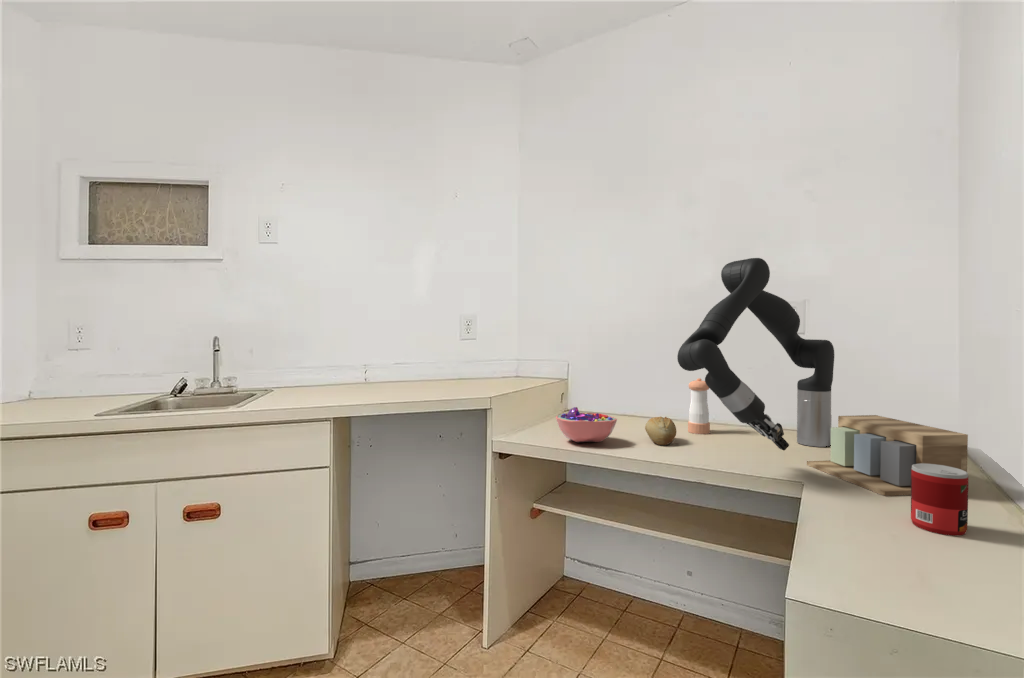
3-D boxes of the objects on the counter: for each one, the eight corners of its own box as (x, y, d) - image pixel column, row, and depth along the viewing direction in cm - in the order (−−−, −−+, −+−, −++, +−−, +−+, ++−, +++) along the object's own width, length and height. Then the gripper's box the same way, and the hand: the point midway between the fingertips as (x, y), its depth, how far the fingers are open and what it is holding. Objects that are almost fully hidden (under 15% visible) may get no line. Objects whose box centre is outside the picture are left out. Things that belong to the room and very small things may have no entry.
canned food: (972, 540, 86) (973, 477, 86) (913, 530, 90) (914, 470, 90) (961, 525, 93) (962, 467, 92) (907, 516, 97) (908, 461, 97)
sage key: (830, 461, 132) (830, 427, 132) (865, 459, 133) (865, 426, 133) (844, 466, 127) (845, 431, 127) (880, 465, 128) (881, 430, 128)
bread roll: (670, 436, 169) (670, 413, 169) (681, 447, 154) (681, 421, 154) (641, 436, 170) (641, 413, 170) (649, 446, 155) (650, 421, 155)
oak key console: (806, 464, 133) (807, 416, 133) (875, 462, 135) (875, 415, 135) (884, 495, 109) (885, 436, 108) (966, 492, 111) (967, 434, 110)
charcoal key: (880, 479, 116) (880, 441, 116) (919, 477, 117) (919, 440, 117) (899, 486, 111) (899, 446, 111) (939, 484, 112) (940, 445, 112)
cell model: (612, 450, 150) (612, 413, 150) (549, 445, 157) (549, 410, 157) (620, 438, 166) (620, 405, 165) (562, 434, 173) (562, 402, 172)
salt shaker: (713, 434, 172) (713, 379, 172) (692, 434, 172) (692, 379, 172) (705, 429, 179) (705, 377, 179) (685, 429, 179) (685, 377, 179)
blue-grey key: (853, 469, 124) (854, 433, 124) (890, 468, 125) (890, 433, 125) (870, 475, 119) (870, 438, 119) (908, 474, 120) (908, 437, 120)
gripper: (766, 393, 120) (812, 442, 121) (736, 387, 133) (778, 431, 135) (745, 415, 120) (792, 464, 121) (717, 407, 133) (760, 451, 134)
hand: (785, 447), depth 128 cm, fingers closed
